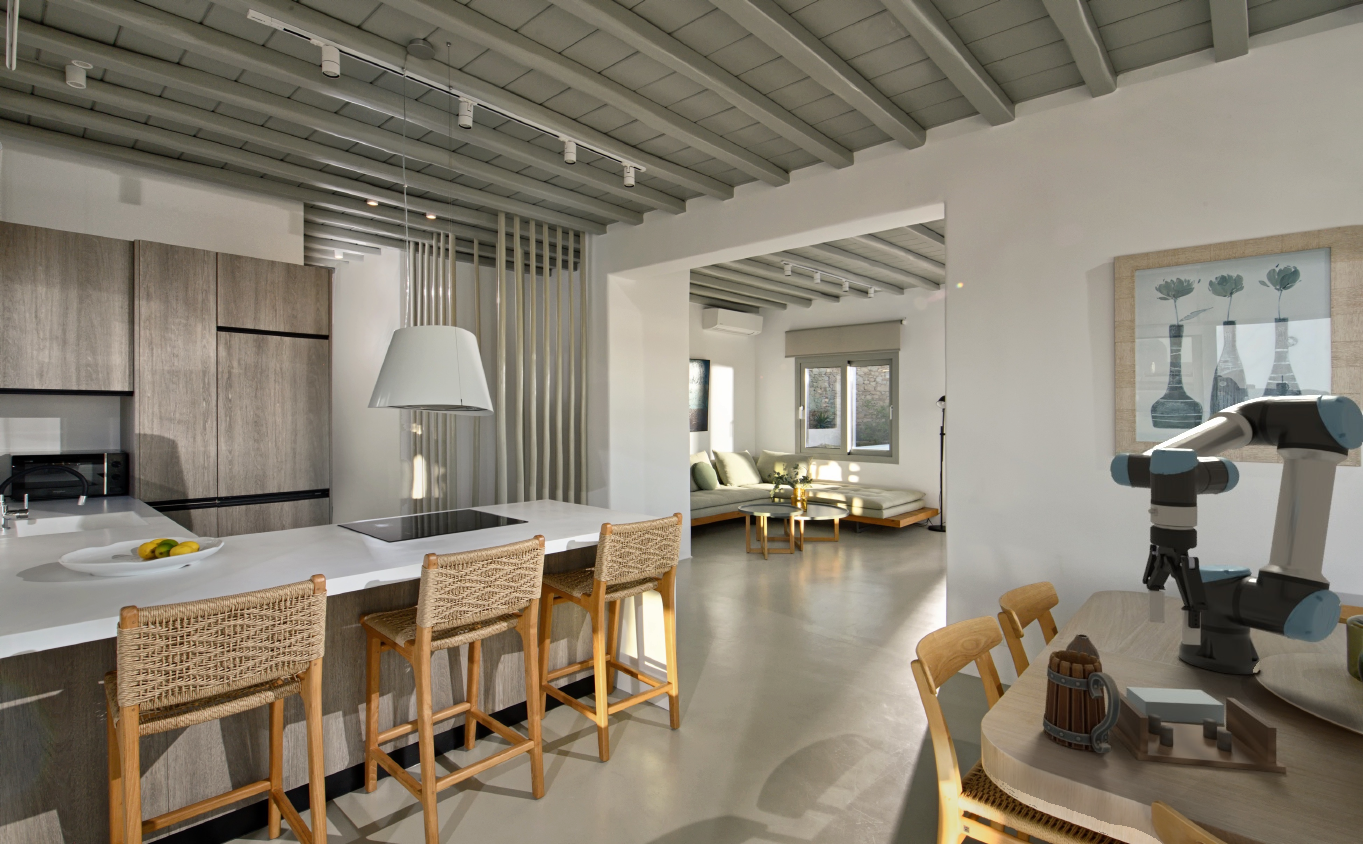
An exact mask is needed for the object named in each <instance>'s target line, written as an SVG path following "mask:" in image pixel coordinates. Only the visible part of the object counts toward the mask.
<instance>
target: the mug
mask: <svg viewBox="0 0 1363 844" xmlns="http://www.w3.org/2000/svg"><path fill="white" fill-rule="evenodd" d="M1046 670H1047V671H1046V676H1047V682H1046V683H1047V685H1046V695H1045V706H1044V707H1045V709H1044V713H1043V718H1042V719H1043V720H1042V726H1043V732H1044V734H1046V735H1045V736H1047V737H1048V738H1049V739H1050V740H1052V741H1053V742H1054V743H1056V744H1059V745H1061V746H1063V747H1066V748H1068V749H1069V748H1070V749H1074V750H1077V751H1085V752H1096V753H1098V754H1107V753H1108V754H1109V753H1110V752H1111V749H1112V748H1111V747H1112V746H1111V745H1109V740H1110V735H1109V730H1110V731H1111V728H1112V727H1113V726H1114V725H1115V724H1116V722H1117V720H1118V717H1119V711H1120V695H1119V691H1120V690H1119V689H1118V685H1117V684H1116V681H1115V680H1114V679H1113V677H1112V676H1111V675H1110V674H1108V673H1107V672H1104V671H1103V666H1102V662H1101V659H1100V660H1098V659H1097V658H1096V657H1094V656H1090V657H1089V655H1088V654H1086V653H1082V652H1081V653H1080V654H1078V652H1077V651H1071V650H1070V651H1068V653H1067V652H1066V649H1065V650H1064V649H1059V650H1058V651H1057V650H1054V651H1052V652H1051V653H1050V655H1049V657H1048V664H1047V669H1046ZM1118 690H1119V691H1118ZM1105 691H1106V695H1107V707H1106V701H1105V699H1106V698H1105Z"/></svg>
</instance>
